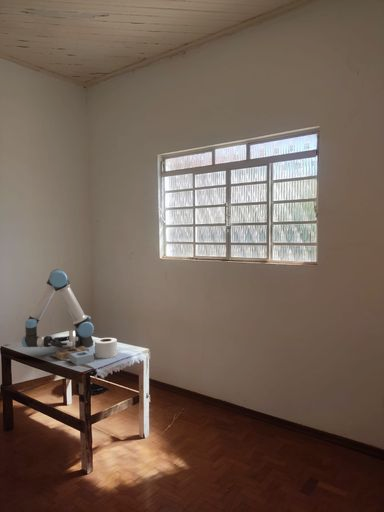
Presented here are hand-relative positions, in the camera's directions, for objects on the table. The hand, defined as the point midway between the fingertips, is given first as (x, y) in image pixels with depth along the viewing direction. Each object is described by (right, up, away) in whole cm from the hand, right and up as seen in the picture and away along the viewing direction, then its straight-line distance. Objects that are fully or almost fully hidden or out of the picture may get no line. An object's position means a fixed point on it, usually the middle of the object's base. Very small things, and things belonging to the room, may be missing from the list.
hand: (75, 341), depth 261 cm
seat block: (+8, -11, -12) cm, 18 cm away
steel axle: (-2, -10, 0) cm, 11 cm away
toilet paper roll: (+22, -11, +2) cm, 24 cm away
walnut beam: (-2, -10, 0) cm, 11 cm away
